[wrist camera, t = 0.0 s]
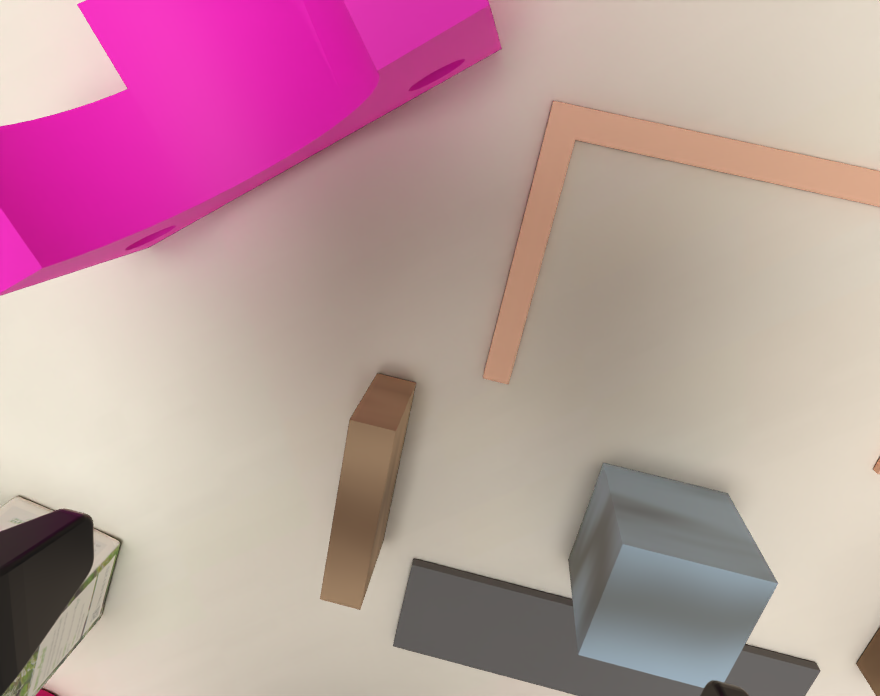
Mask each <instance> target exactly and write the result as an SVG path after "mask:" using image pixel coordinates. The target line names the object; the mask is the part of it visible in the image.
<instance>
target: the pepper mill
mask: <svg viewBox="0 0 880 696" xmlns="http://www.w3.org/2000/svg"><path fill="white" fill-rule="evenodd" d="M35 696H55V695H53V694H51V693H49V692H47V691H45V690H42V689H40V691H39V692H38V693H37V694H36V695H35Z"/></svg>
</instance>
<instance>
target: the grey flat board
mask: <svg viewBox="0 0 880 696" xmlns="http://www.w3.org/2000/svg"><path fill="white" fill-rule="evenodd" d="M393 646H394V647H398V648H402V649H406V650H409V651H413V652H417V653H421V654H424V655H428V656H432V657H436V658H439V659H443V660H447V661H450V662H454V663H458V664H462V665H465V666H469V667H473V668H477V669H480V670H484V671H488V672H492V673H495V674H499V675H503V676H507V677H510V678H514V679H518V680H521V681H525V682H529V683H533V684H536V685H540V686H544V687H548V688H551V689H555V690H559V691H563V692H566V693H570V694H574V695H577V696H700V695H701V693H702V691H703V689H704V688H702V687H698V686H694V685H690V684H686V683H683V682H679V681H675V680H671V679H668V678H664V677H660V676H656V675H652V674H649V673H645V672H641V671H637V670H634V669H630V668H626V667H622V666H618V665H615V664H611V663H607V662H603V661H600V660H596V659H592V658H588V657H584V656H581V655H578V648H577V638H576V628H575V619H574V609H573V600H572V599H568V598H564V597H560V596H556V595H552V594H548V593H545V592H541V591H537V590H533V589H529V588H525V587H521V586H518V585H514V584H510V583H506V582H502V581H498V580H494V579H491V578H487V577H483V576H479V575H475V574H471V573H467V572H464V571H460V570H456V569H452V568H448V567H444V566H440V565H437V564H433V563H429V562H425V561H421V560H417V559H413V563H412V567H411V571H410V576H409V580H408V584H407V588H406V593H405V597H404V601H403V605H402V610H401V614H400V618H399V622H398V627H397V631H396V635H395V639H394V644H393ZM819 672H820V669H819V667H818V665H817V664H816V663H814V662H811V661H807V660H803V659H799V658H795V657H791V656H787V655H784V654H780V653H776V652H772V651H768V650H764V649H760V648H757V647H753V646H749V645H744V647H743V649H742V651H741V653H740V654H739V656H738V658H737V660H736V662H735V664H734V665H733V667H732V669H731V671H730V673H729V675H728V676H727V678H726V680H725V682H724V683H728V684H732V685H735V686H738V687H740V688H742V689H743V690H745V691H746V692H747V693H748V694H749V696H805V695H806V693H807V692H808V690H809V689H810V687H811V685H812V684H813V682H814V681H815V679H816V677H817V676H818V674H819Z"/></svg>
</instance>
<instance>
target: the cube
mask: <svg viewBox="0 0 880 696" xmlns="http://www.w3.org/2000/svg"><path fill="white" fill-rule="evenodd" d="M568 561H569V571H570V580H571V590H572V600H573V609H574V619H575V628H576V638H577V648H578V655H581V656H584V657H588V658H592V659H596V660H600V661H603V662H607V663H611V664H615V665H618V666H622V667H626V668H630V669H634V670H637V671H641V672H645V673H649V674H652V675H656V676H660V677H664V678H668V679H671V680H675V681H679V682H683V683H686V684H690V685H694V686H698V687H702V688H704V687H705V686H706V684H707V683H708V682H710V681H712V680H717V681H720V682H725V680H726V678H727V676H728V675H729V673H730V671H731V669H732V667H733V665H734V664H735V662H736V660H737V658H738V656H739V654H740V653H741V651H742V649H743V647H744V645H745V643H746V641H747V640H748V638H749V636H750V634H751V632H752V630H753V629H754V627H755V625H756V623H757V621H758V619H759V618H760V616H761V614H762V612H763V610H764V608H765V607H766V605H767V603H768V601H769V599H770V597H771V596H772V594H773V592H774V590H775V588H776V586H777V584H778V582H777V581H776V579H775V577H774V575H773V573H772V572H771V570H770V568H769V566H768V565H767V563H766V561H765V559H764V557H763V556H762V554H761V552H760V550H759V548H758V547H757V545H756V543H755V541H754V539H753V538H752V536H751V534H750V532H749V530H748V529H747V527H746V525H745V523H744V522H743V520H742V518H741V516H740V514H739V513H738V511H737V509H736V507H735V505H734V504H733V502H732V500H731V498H730V496H729V495H728V493H724V492H719V491H715V490H711V489H707V488H703V487H699V486H695V485H691V484H687V483H683V482H679V481H675V480H671V479H667V478H663V477H659V476H655V475H651V474H647V473H643V472H639V471H634V470H630V469H626V468H622V467H618V466H614V465H610V464H606V463H603V465H602V468H601V471H600V474H599V476H598V479H597V482H596V485H595V487H594V490H593V493H592V496H591V499H590V501H589V504H588V507H587V510H586V512H585V515H584V518H583V521H582V523H581V526H580V529H579V532H578V534H577V537H576V540H575V543H574V545H573V548H572V551H571V554H570V557H569V559H568Z"/></svg>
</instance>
